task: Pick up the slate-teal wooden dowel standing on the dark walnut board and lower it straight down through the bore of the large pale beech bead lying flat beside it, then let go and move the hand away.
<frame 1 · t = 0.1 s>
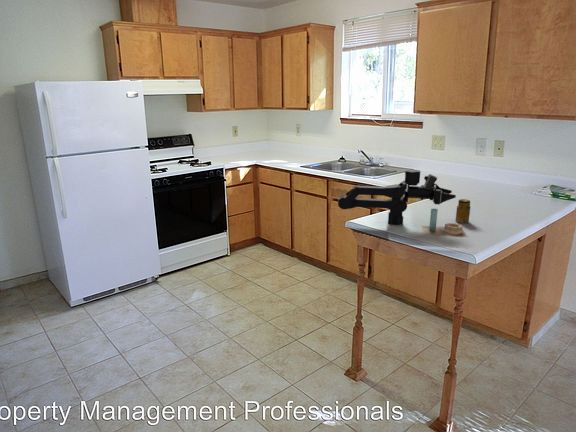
hand: (453, 194, 197), 17 cm above the worktop, tool horizontal, fingers open, 9 cm apart
dowel: (432, 230, 195), point 1 cm above the worktop, touching board
bead: (453, 231, 193), point 1 cm above the worktop, touching board
board: (443, 233, 195), on the worktop
condiment: (463, 225, 208), on the worktop
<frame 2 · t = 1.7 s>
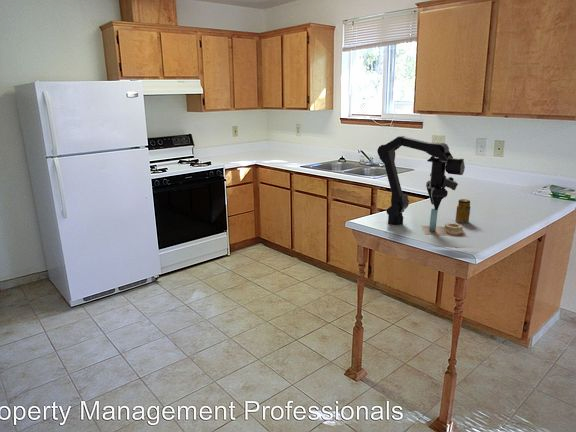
hand: (434, 207, 192), 12 cm above the worktop, tool pointing down, fingers open, 9 cm apart
nothing on the worktop moved.
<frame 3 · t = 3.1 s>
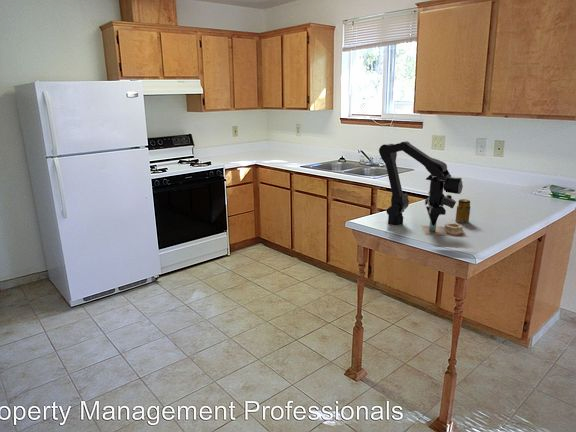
hand: (432, 224, 194), 4 cm above the worktop, tool pointing down, fingers closed on dowel, 3 cm apart
dowel: (432, 230, 195), point 1 cm above the worktop, touching board, gripper
everything else where it was.
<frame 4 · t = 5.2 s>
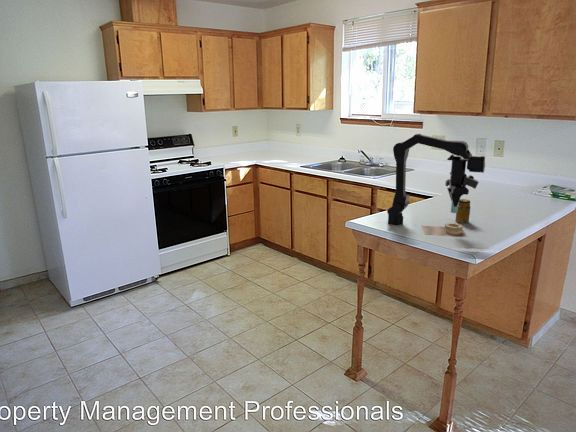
hand: (454, 205, 190), 13 cm above the worktop, tool pointing down, fingers closed on dowel, 3 cm apart
dowel: (454, 212, 191), point 10 cm above the worktop, touching gripper
everything else where it was.
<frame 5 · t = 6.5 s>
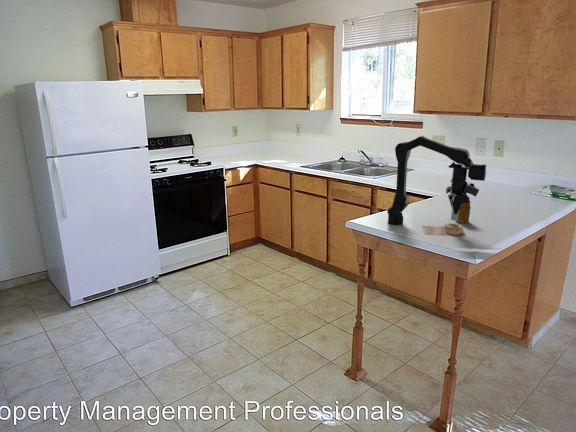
hand: (455, 213, 191), 10 cm above the worktop, tool pointing down, fingers closed on dowel, 3 cm apart
dowel: (454, 219, 192), point 7 cm above the worktop, touching gripper
everything else where it was.
when the fingers open (6 cm above the worktop, at t = 7.6 s): dowel drops 1 cm, resting on board.
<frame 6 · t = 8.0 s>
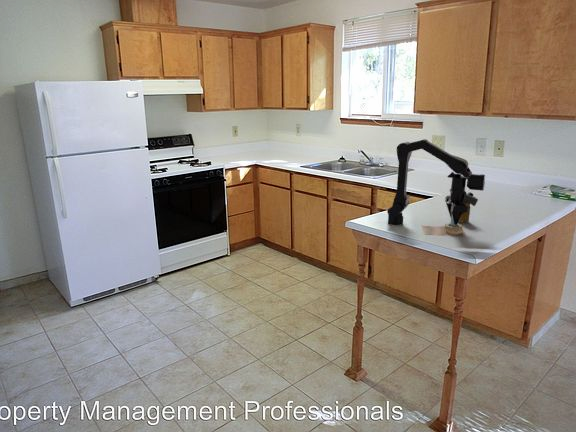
hand: (454, 222, 192), 6 cm above the worktop, tool pointing down, fingers open, 7 cm apart
dowel: (453, 231, 193), point 1 cm above the worktop, touching board
everything else where it was.
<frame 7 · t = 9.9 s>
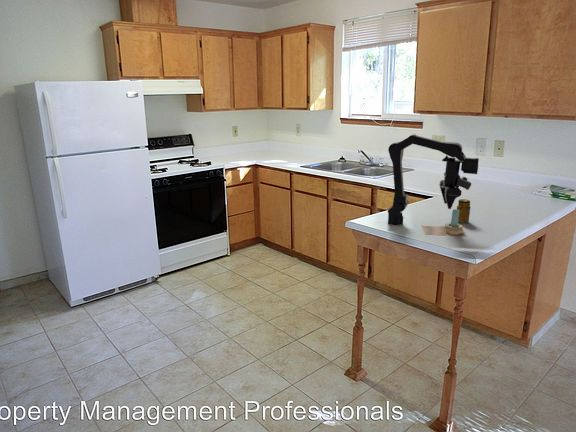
hand: (447, 206, 193), 12 cm above the worktop, tool pointing down, fingers open, 9 cm apart
nothing on the worktop moved.
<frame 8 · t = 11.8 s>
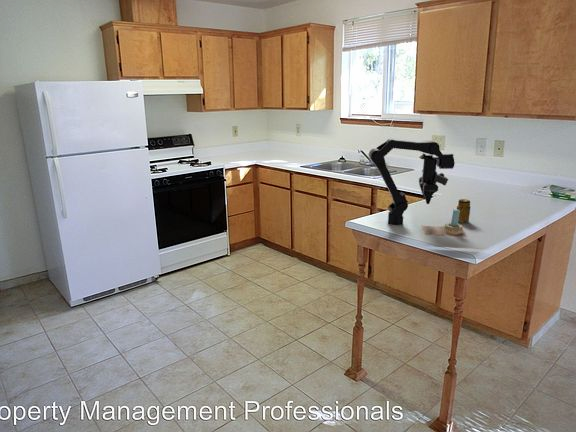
hand: (426, 201, 202), 12 cm above the worktop, tool pointing down, fingers open, 9 cm apart
nothing on the worktop moved.
at the end: dowel 0.0 cm from the bead (horizontally); dowel point 1.3 cm above the worktop; dowel tilted 3° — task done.
